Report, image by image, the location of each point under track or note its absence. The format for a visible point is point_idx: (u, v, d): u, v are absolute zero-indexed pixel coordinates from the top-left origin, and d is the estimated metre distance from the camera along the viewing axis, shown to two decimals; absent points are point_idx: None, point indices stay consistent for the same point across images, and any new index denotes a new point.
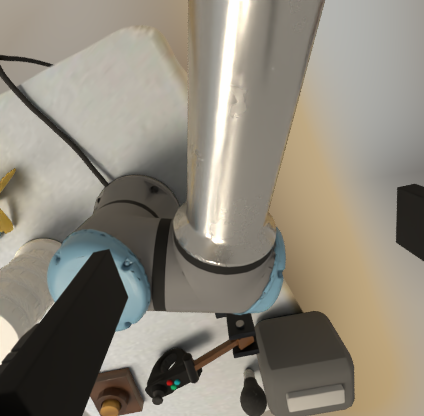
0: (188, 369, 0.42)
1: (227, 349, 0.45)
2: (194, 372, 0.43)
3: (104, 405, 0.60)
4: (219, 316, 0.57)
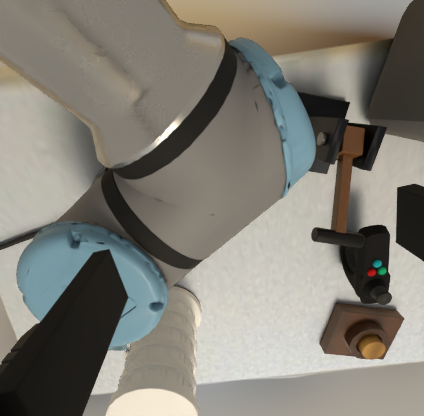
0: (334, 241, 0.27)
1: (347, 174, 0.28)
2: (345, 235, 0.27)
3: (361, 350, 0.47)
4: (325, 168, 0.39)
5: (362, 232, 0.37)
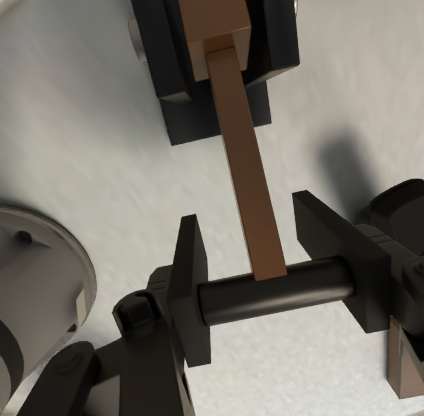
0: (258, 312, 0.09)
1: (235, 103, 0.09)
2: (285, 283, 0.09)
3: None
4: (265, 114, 0.21)
5: (375, 208, 0.18)
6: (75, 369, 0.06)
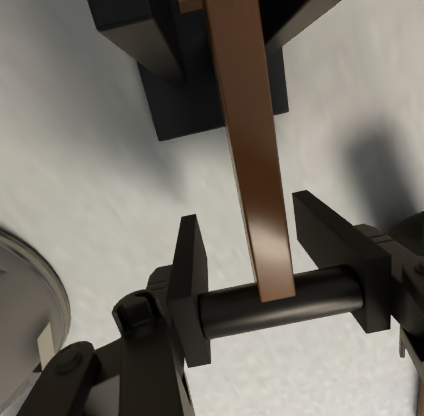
0: (262, 328, 0.09)
1: (250, 84, 0.06)
2: (293, 306, 0.08)
3: None
4: (280, 100, 0.16)
5: None
6: (75, 370, 0.06)
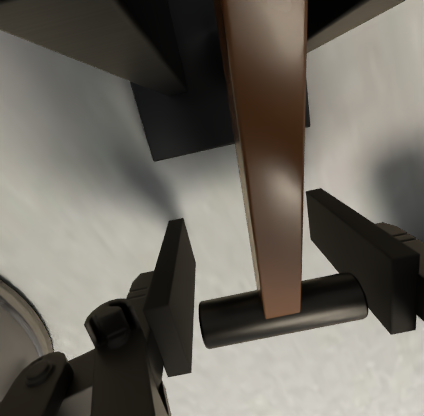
0: None
1: (279, 116, 0.04)
2: (297, 321, 0.08)
3: None
4: None
5: None
6: (46, 381, 0.06)
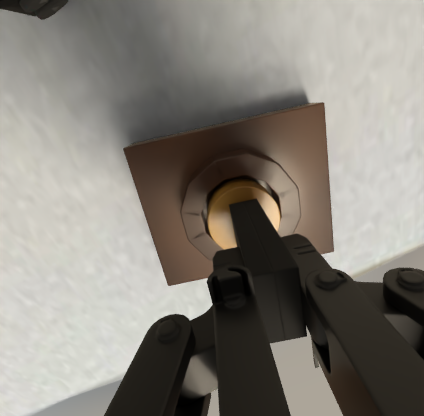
0: None
1: None
2: None
3: None
4: None
5: None
6: (175, 342, 0.07)
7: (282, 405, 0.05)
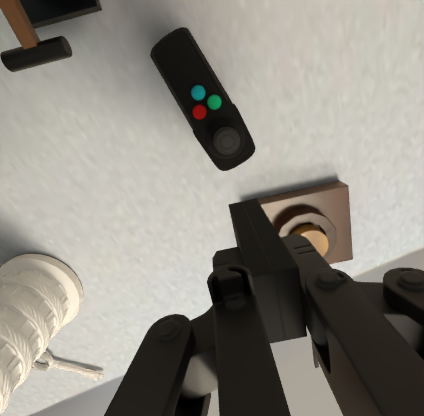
0: (30, 64, 0.21)
1: None
2: (35, 49, 0.20)
3: None
4: None
5: (151, 53, 0.22)
6: (175, 341, 0.07)
7: (282, 405, 0.05)
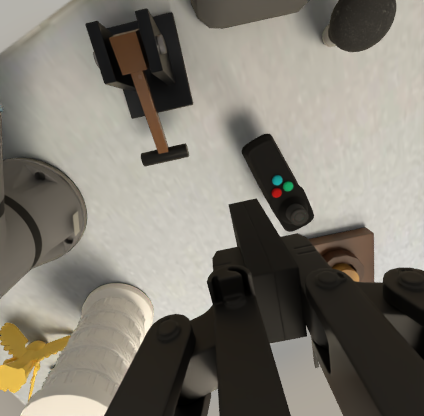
0: (160, 162, 0.29)
1: (145, 94, 0.25)
2: (167, 154, 0.29)
3: None
4: (188, 99, 0.34)
5: (244, 151, 0.31)
6: (175, 341, 0.07)
7: (282, 405, 0.05)
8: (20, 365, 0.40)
